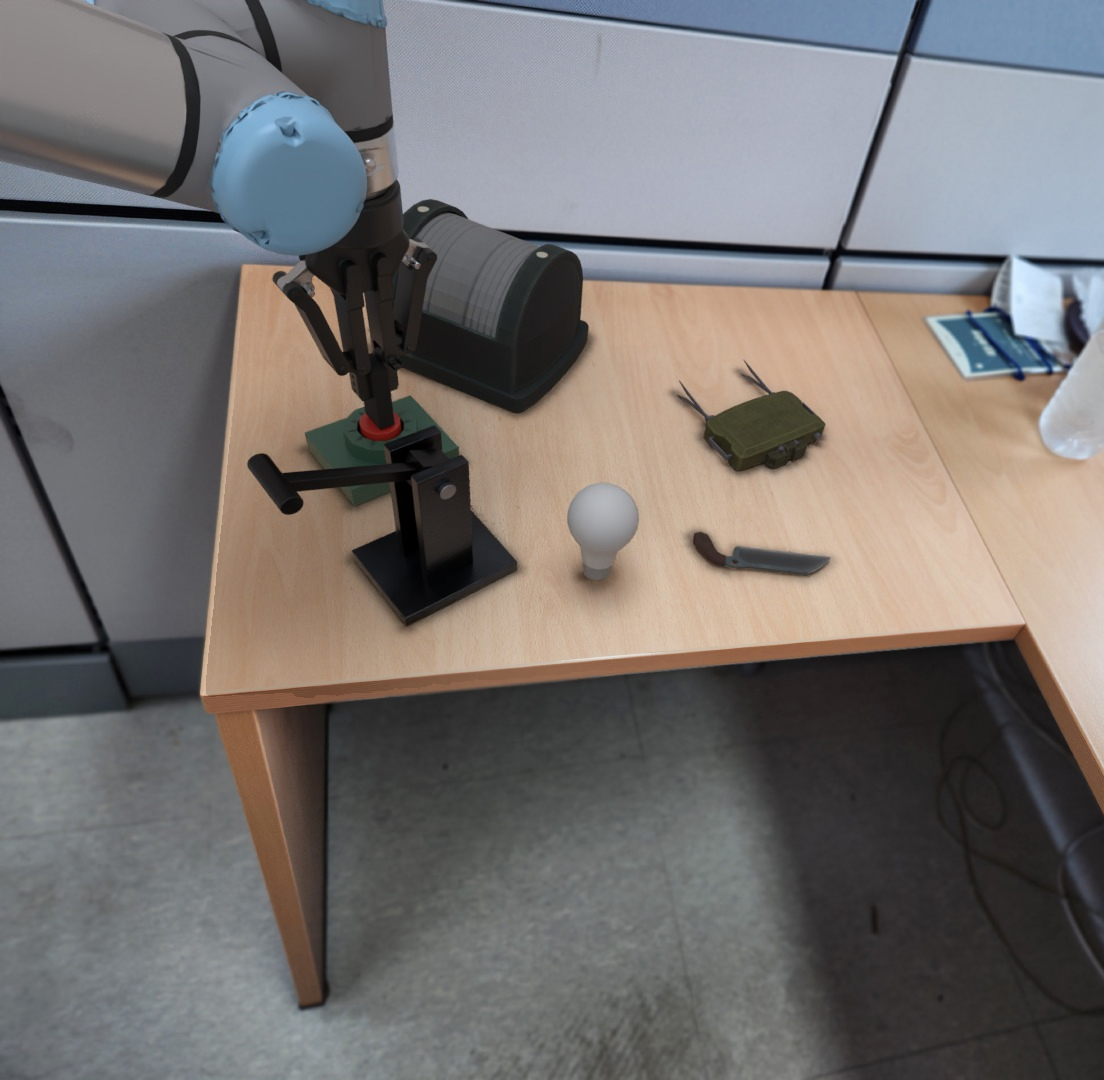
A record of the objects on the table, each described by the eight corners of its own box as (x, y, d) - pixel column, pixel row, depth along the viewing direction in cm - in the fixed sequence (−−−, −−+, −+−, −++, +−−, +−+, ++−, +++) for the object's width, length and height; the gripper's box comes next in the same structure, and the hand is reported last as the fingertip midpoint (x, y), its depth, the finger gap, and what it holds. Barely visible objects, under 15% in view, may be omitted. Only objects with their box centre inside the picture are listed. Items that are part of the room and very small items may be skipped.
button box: (354, 506, 79) (348, 476, 76) (308, 449, 82) (300, 418, 79) (459, 463, 85) (458, 433, 82) (412, 411, 88) (409, 381, 85)
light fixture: (529, 304, 80) (344, 231, 82) (526, 417, 91) (362, 351, 93) (606, 230, 92) (442, 168, 94) (595, 339, 102) (448, 281, 104)
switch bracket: (406, 627, 71) (390, 517, 61) (353, 558, 75) (329, 444, 65) (517, 569, 78) (519, 461, 67) (463, 509, 81) (457, 397, 71)
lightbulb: (620, 608, 77) (633, 528, 69) (554, 592, 77) (560, 510, 69) (635, 559, 81) (649, 477, 73) (572, 543, 81) (580, 460, 73)
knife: (692, 565, 82) (693, 560, 81) (692, 534, 84) (693, 529, 84) (832, 581, 84) (834, 576, 83) (828, 550, 86) (830, 546, 86)
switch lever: (277, 521, 57) (284, 493, 56) (243, 476, 59) (249, 448, 58) (455, 498, 68) (464, 474, 67) (422, 461, 70) (430, 437, 69)
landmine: (746, 466, 89) (664, 381, 95) (741, 484, 91) (661, 400, 97) (841, 426, 96) (759, 351, 102) (834, 444, 98) (754, 368, 104)
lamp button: (373, 452, 80) (371, 438, 78) (354, 430, 81) (352, 416, 80) (409, 439, 82) (407, 425, 80) (389, 417, 83) (388, 403, 82)
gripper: (280, 220, 58) (332, 468, 75) (452, 184, 65) (463, 418, 82) (231, 169, 61) (292, 419, 78) (401, 140, 68) (422, 375, 85)
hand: (380, 418), depth 80 cm, fingers closed
